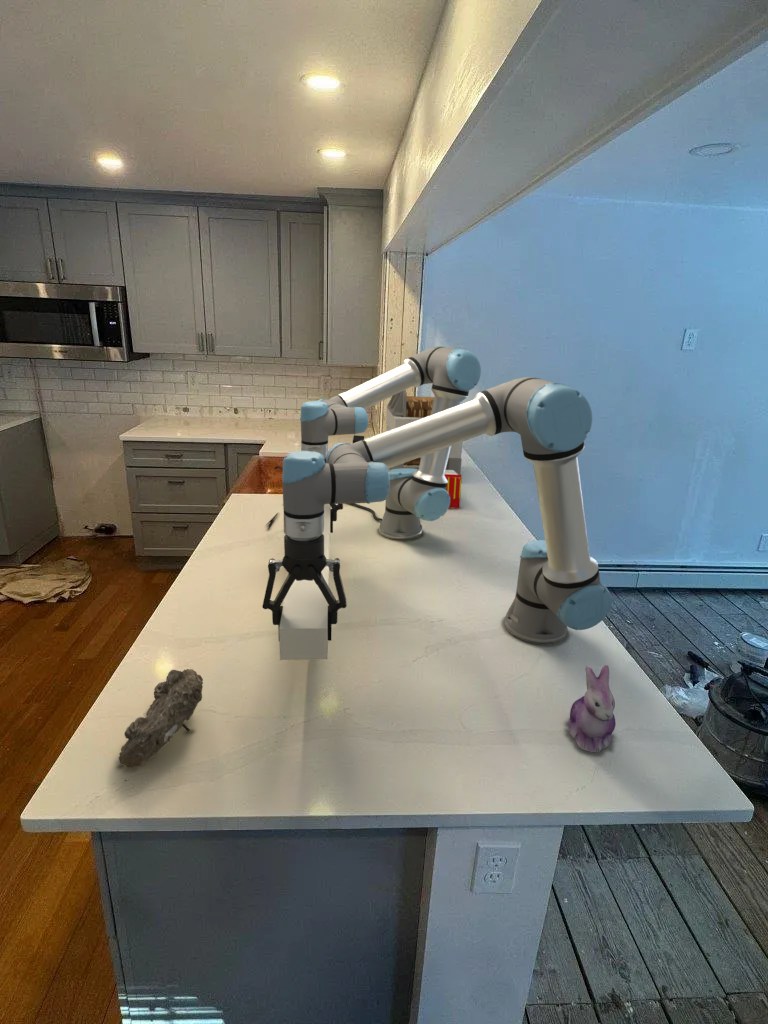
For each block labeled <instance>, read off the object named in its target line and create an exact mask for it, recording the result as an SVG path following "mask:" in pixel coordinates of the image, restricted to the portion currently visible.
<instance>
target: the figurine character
mask: <svg viewBox="0 0 768 1024" xmlns="http://www.w3.org/2000/svg"><path fill="white" fill-rule="evenodd" d="M364 439H365V435H357V434H353V437H352V443H355V442H358V441H361V440H364Z"/></svg>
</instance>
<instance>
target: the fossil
mask: <svg viewBox="0 0 768 1024" xmlns="http://www.w3.org/2000/svg"><path fill="white" fill-rule="evenodd" d="M203 684H204V680H203V677H202V676H201V674H198V673H197V671H196V670H194V669H192V668H190V669H189V668H186V669H183V670H177V669H171V670H170V671H169V672H168V674H167V676H166V679H165V680H163V681H162V682H159V683H157V684H156V685H155V687H154V688H153V698H154V700H153V701H152V703H151V704H149V705H150V706H149V708H148V709H147V711H146V713H145V715H146V716H145V717H142V716H140V717H137V718H136V719H134V721H132V722H131V723H130V724H129V725H128V726H127V727H126V729H125V731H124V737H125V739H128V740H126V742H125V744H124V745H122V746H121V748H120V752H119V753H118V754H119V756H118V761H119V764H120V765H124V766H125V767H126V768H133V767H138V766H142V767H143V766H144V765H146V764H147V763H148V762H149V761H150V760H151V759H153V757H155V756H157V754H158V753H159V752H160V751H161V750H162V749H163V748H164V747H166V745H167V744H168V743H170V742H171V740H172V739H173V738H174V735H175V734H176V733H178V732H179V730H180V729H181V728H183V729H184V730H185V731H186V732H188V733H189V732H191V729H190V728H189V727H188V726H187V725H186V724H185V722H186V721H189V720H190V718H191V717H193V715H194V711H195V710H196V708H197V706H198V704H199V703H200V702H201V701H202V699H203V687H204V685H203Z"/></svg>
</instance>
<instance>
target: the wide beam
mask: <svg viewBox="0 0 768 1024" xmlns="http://www.w3.org/2000/svg"><path fill="white" fill-rule="evenodd" d="M330 509H332V508H331V506H330V504H324V533H323V535H324V555H325V557H326V559H329V560H331V533H330ZM321 573H322V575H323V577H324V579H325V581H326V583H327V585H328V586H329V587H330V570H329V567H328V566H325V568H324V569H323V570H322V571H321ZM328 605H329V604H328V603H327V601H326V599H325V597H324V596H323V594H322V592H321V590H320V589H319V587H318V585H316V583H315V581H314V580H313V581H308V580H301V581H296V579H295V581H294V583H293V584H292V585H291V587H290V589H289V591H288V593H287V595H286V596H285V598H284V600H283V604H282V606H283V610H282V615H281V621H280V627H279V632H278V642H279V660H280V661H305V660H306V661H308V660H309V661H311V660H312V661H313V660H317V661H318V660H328V652H329V651H328V649H329V647H328V646H329V641H328Z"/></svg>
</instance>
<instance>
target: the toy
mask: <svg viewBox="0 0 768 1024" xmlns="http://www.w3.org/2000/svg"><path fill="white" fill-rule="evenodd" d="M462 475H463V474H460V475H458V474H457V473H456V472H455V471H454V470H446V471H445V478H446V479H447V481H448V483H447V487H446V491H447V492H448V493H449V496H450V505H449V508H448V509H450V508H452V509H460V507H461V505H460V504H461V493H462V481H463V480H462V477H463V476H462Z"/></svg>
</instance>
